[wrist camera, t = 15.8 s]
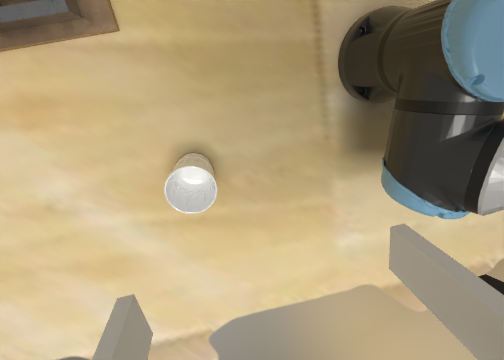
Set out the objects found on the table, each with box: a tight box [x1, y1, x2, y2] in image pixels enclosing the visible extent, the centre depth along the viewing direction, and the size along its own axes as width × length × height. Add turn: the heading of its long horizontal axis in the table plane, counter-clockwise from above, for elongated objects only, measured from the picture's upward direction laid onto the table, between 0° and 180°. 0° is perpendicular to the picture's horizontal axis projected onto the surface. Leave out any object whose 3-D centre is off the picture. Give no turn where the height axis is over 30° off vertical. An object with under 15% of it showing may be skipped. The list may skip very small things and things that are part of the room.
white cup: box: [164, 153, 217, 214], centre depth 43 cm, size 8×8×10 cm
